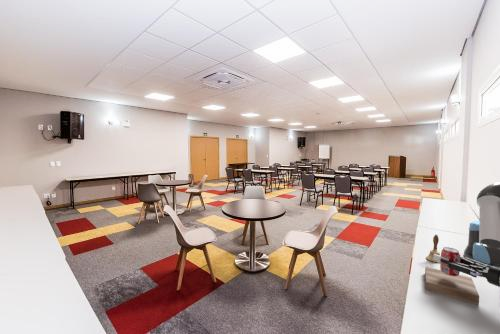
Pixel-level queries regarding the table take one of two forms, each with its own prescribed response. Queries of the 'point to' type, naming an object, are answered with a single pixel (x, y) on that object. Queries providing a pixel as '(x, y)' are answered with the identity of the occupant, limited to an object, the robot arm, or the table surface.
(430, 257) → the hand bell
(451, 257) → the soda can
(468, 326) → the table surface
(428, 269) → the podium
